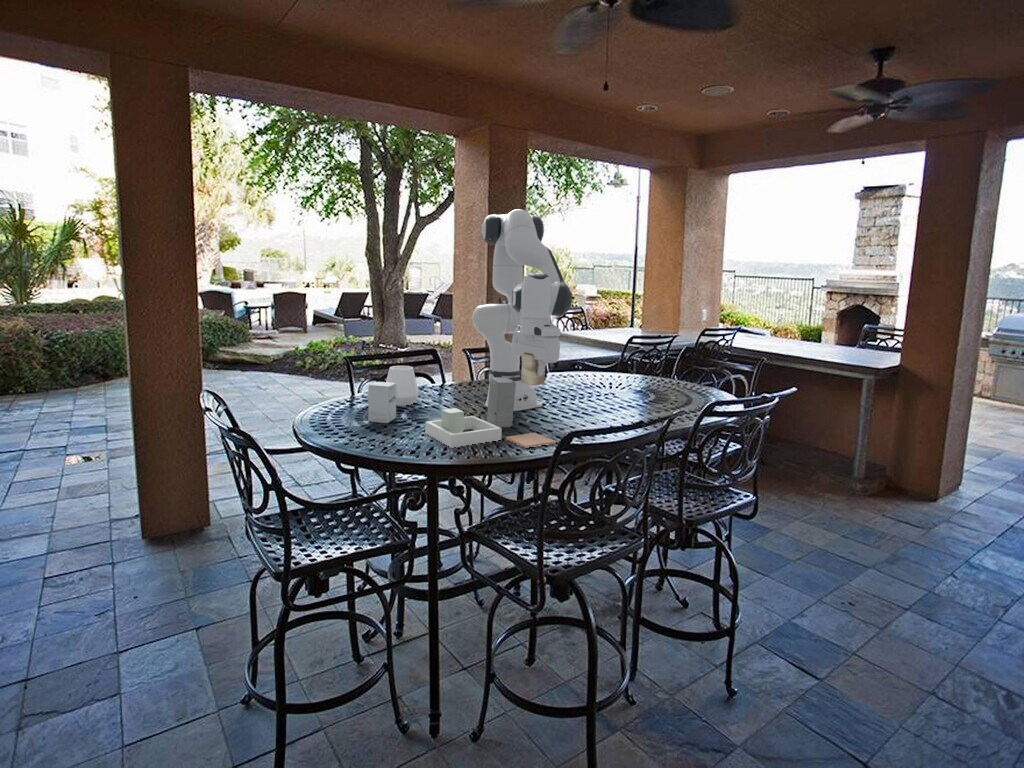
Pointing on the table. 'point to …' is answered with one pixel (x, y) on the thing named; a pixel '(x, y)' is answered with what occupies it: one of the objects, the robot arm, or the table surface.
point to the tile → (530, 440)
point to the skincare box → (501, 401)
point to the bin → (480, 435)
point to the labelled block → (531, 371)
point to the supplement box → (382, 402)
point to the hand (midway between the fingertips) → (533, 373)
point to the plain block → (452, 420)
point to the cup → (403, 384)
